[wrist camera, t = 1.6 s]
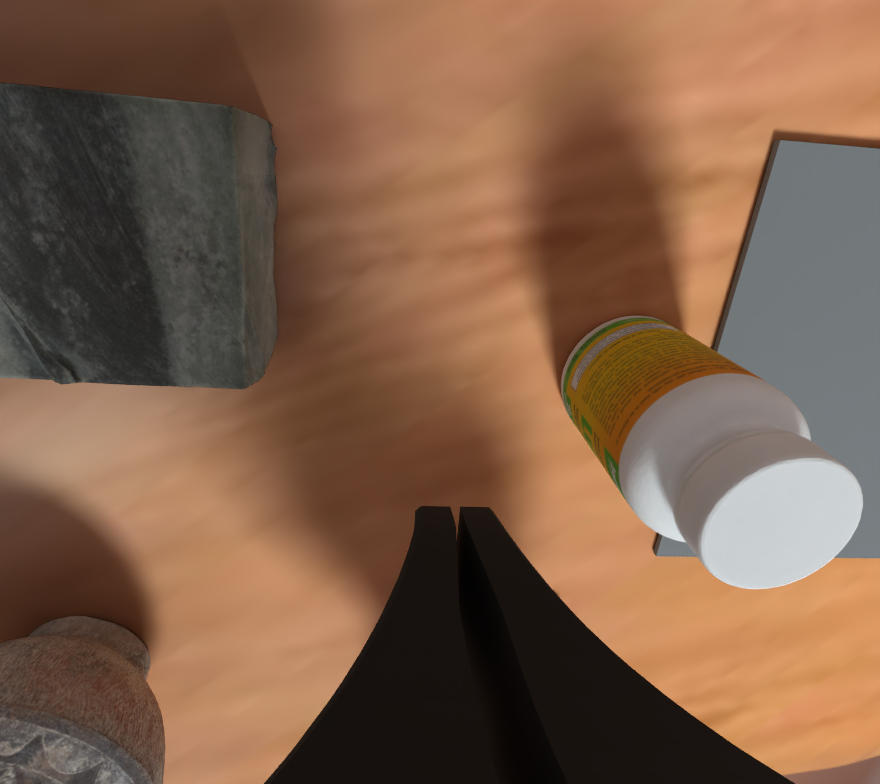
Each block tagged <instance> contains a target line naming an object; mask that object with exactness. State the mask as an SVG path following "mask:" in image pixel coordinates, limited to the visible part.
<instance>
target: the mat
mask: <svg viewBox="0 0 880 784" xmlns="http://www.w3.org/2000/svg"><path fill="white" fill-rule="evenodd" d="M713 350H714V351H716V352H717V353H719V354H721V355H722V356H724V357H726V358H727V359H729V360H731V361H733V362H734V363H736V364H738V365H739V366H741V367H743V368H744V369H746V370H748V371H749V372H751V373H753V374H755V375H756V376H758V377H760V378H762V379H763V380H765V381H766V382H768V383H769V384H771V385H772V386H774V387H775V388H777V389H779V390H780V391H781V392H783V393H784V394H785V395H786V396H788V397H789V398H790V399H791V400H792V401H793V402H794V403H795V404H796V406H797V407H798V408H799V410H800V411H801V413H802V415H803V416H804V418H805V420H806V422H807V425H808V428H809V431H810V436H811V441H812V442H814V443H815V444H817V445H818V446H819V447H820V448H822V449H823V450H824V451H826V452H827V453H828V454H830V455H831V456H832V457H834V458H835V459H837V460H838V461H839V462H841V463H842V464H844V465H845V466H846V467H847V468H848V469H849V470H850V471H851V472H852V473H853V474H854V476H855V477H856V479H857V481H858V483H859V485H860V487H861V491H862V495H863V508H862V513H861V518H860V521H859V524H858V526H857V528H856V530H855V532H854V534H853V535H852V537H851V539H850V540H849V541H848V543H847V544H846V545H845V546H844V548H843V549H842V550H841V551H840V552H839V553H838V554H837V555H836V556H835V557H834V558H880V149H878V148H866V147H855V146H843V145H832V144H820V143H809V142H797V141H786V140H775V141H774V144H773V148H772V151H771V155H770V158H769V161H768V165H767V168H766V172H765V175H764V178H763V182H762V185H761V189H760V192H759V195H758V199H757V202H756V206H755V209H754V212H753V216H752V219H751V223H750V226H749V229H748V233H747V236H746V240H745V243H744V246H743V250H742V253H741V256H740V260H739V263H738V267H737V270H736V273H735V277H734V280H733V284H732V287H731V290H730V294H729V297H728V301H727V304H726V307H725V311H724V314H723V318H722V321H721V324H720V328H719V331H718V335H717V338H716V341H715V345H714V348H713ZM654 554H655V555H656V556H686V557H697V556H696V555H695V553H694V552H693V551H692V550H691V548H690V547H689V546H688V544H687V543H686V542H681V541H676V540H673V539H670V538H667V537H665V536H663V535H661V534H659V535H658V538H657V542H656V545H655V548H654Z"/></svg>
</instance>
